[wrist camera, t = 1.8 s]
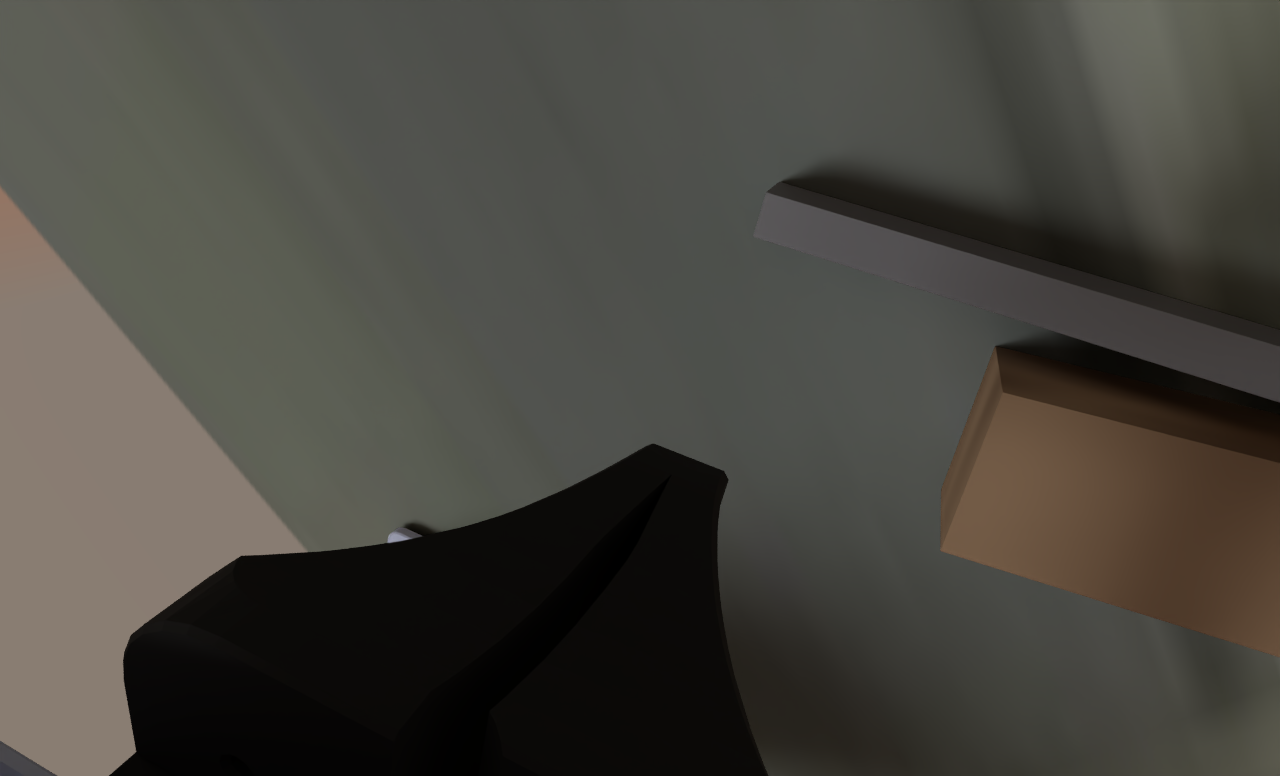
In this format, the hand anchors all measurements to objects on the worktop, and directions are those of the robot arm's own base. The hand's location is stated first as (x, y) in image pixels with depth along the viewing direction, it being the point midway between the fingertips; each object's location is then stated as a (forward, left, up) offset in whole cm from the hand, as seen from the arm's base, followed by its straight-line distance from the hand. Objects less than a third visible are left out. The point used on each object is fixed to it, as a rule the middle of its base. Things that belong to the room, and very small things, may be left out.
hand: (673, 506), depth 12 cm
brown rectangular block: (+9, 0, -8) cm, 12 cm away
